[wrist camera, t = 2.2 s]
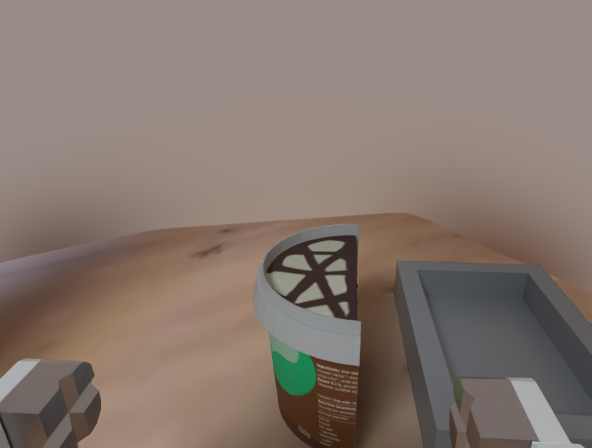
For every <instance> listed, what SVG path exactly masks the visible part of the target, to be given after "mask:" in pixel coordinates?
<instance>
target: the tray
mask: <svg viewBox="0 0 592 448" xmlns="http://www.w3.org/2000/svg"><path fill="white" fill-rule="evenodd" d="M394 297H395V303H396V308H397V313H398V318H399V323H400V328H401V333H402V338H403V343H404V348H405V353H406V359H407V364H408V369H409V374H410V379H411V384H412V389H413V394H414V399H415V404H416V409H417V415H418V420H419V425H420V430H421V435H422V440H423V445H424V448H452V444H451V438H450V429H449V416H450V407H451V406H452V405H453V404H454V403H455V402H456V401H455V398H454V394H453V384H454V380H455V378H456V376H464V377H495V378H506V377H510V378H532V379H533V380H534V381H536V383H537V385H538V386H539V388H540V390H541V391H542V393H543V395H544V397H545V398H546V400H547V402H548V404H549V405H550V407H551V409H552V410H553V412H554V414H555V416H556V417H557V419H558V421H559V423H560V424H561V426H562V428H563V429H564V431H565V433H566V435H567V436H568V438H569V440H570V442H571V443H572V444H580V445H582V446H583V447H585V448H592V326H591V324H590V323H589V322H588V321H587V320H586V318H585V317H584V316H583V315H582V314H581V313H580V311H579V310H578V309H577V308H576V307H575V306H574V304H573V303H572V302H571V301H570V300H569V299H568V297H567V296H566V295H565V294H564V293H563V292H562V290H561V289H560V288H559V287H558V286H557V285H556V283H555V282H554V281H553V280H552V279H551V278H550V276H549V275H548V274H547V273H546V272H545V271H544V269H543V268H542V267H541V266H540V265H522V264H488V263H455V262H422V261H397V264H396V276H395V288H394Z"/></svg>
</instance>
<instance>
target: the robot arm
mask: <svg viewBox="0 0 592 448" xmlns="http://www.w3.org/2000/svg"><path fill="white" fill-rule="evenodd" d="M94 376H95V375H94V372H93V369H92V366H91V364H89V363H87V362H81V361H65V360H50V359H45V360H42V359H28V358H26V359H23V360H20V361H18V362H17V363H16V364H15V365H14V366H13V367H12V368H11V369H10V370H9V371H8V372H7V373H6V374H5V375H4V376H3V377H2V378H1V379H0V448H79V447H78V442H79V441H81V440H82V439H84V438H85V437H87V436H88V435H90V434H91V432H92V430H93V429H94V427H95V425H96V424H97V421H98V418H99V414H100V411H101V398H100V394H99V391H98V390H97V389H96V388H95V387H94V386H93V385H92V384H91V381H92V379H93V378H94ZM453 394H454V398H455V401H456V402H455V403H454V404H453V405H452V406H451V407H450V416H449V429H450V438H451V444H452V448H585V447H583V446H582V445H580V444H572V443H571V442H570V440H569V438H568V436H567V435H566V433H565V431H564V429H563V428H562V426H561V424H560V423H559V421H558V419H557V417H556V416H555V414H554V412H553V410H552V409H551V407H550V405H549V404H548V402H547V400H546V398H545V397H544V395H543V393H542V391H541V390H540V388H539V386H538V385H537V383H536V381H534V380H533V379H532V378H510V377H506V378H495V377H464V376H456V378H455V380H454V384H453Z"/></svg>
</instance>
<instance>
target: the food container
mask: <svg viewBox="0 0 592 448" xmlns="http://www.w3.org/2000/svg"><path fill="white" fill-rule="evenodd" d="M358 231H359V224H333V225H325V226H319V227H314V228H310V229H306V230H303V231H299V232H297V233H294V234H292V235H289V236H287V237H285V238H284V239H282V240H280V241H279V242H277V243H276V244H275V245H273V246H272V247H271V248H270V249H269V250H268V252H267V253H266V255H265V257H264V258H263V262H262V264H261V266H260V267H259V270H258V274H257V279H256V285H255V290H254V296H253V302H254V309H255V312H256V315H257V317H258V318H259V320H260V321H261V323H262V325H263V326H264V327H265V328H266V329H267V330H268V331H269V338H270V345H271V352H272V359H273V366H274V373H275V381H276V388H277V395H278V402H279V409H280V412H281V415H282V417H283V419H284V421H285V423H286V424H287V426H288V427H289V428H290V429H291V431H292V432H293V433H294V434H295V435H296V436H297V437H298V438H300V439H301V440H302V441H303V442H305V443H306V444H308V445H309V446H311V447H313V448H354V441H355V423H356V406H357V388H358V370H359V364H360V339H361V321H357V302H358V301H357V287H358V285H357V256H358Z"/></svg>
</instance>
